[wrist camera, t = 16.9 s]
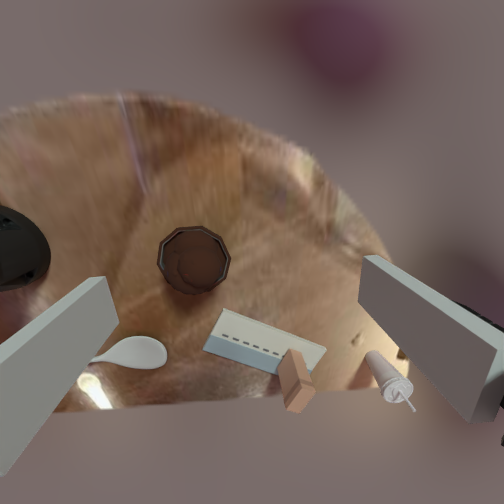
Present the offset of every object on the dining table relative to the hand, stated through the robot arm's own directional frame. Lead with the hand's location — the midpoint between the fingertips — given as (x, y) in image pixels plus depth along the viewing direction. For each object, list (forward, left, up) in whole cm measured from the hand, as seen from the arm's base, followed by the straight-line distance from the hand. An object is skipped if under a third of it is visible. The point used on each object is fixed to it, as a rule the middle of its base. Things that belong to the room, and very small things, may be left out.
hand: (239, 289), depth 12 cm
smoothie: (+30, -39, -32) cm, 59 cm away
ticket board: (+4, -33, -32) cm, 46 cm away
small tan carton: (+9, -36, -30) cm, 48 cm away
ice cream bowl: (-7, -7, -32) cm, 33 cm away
